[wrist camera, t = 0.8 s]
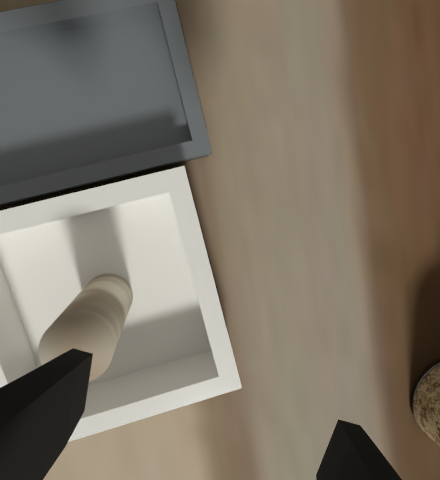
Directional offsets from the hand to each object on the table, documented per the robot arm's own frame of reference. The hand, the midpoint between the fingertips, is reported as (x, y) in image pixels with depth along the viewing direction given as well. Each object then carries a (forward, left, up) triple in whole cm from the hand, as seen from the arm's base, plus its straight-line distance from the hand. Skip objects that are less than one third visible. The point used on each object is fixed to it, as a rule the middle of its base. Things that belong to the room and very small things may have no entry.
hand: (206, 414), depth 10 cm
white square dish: (-5, 0, -15) cm, 16 cm away
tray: (-5, +13, -15) cm, 21 cm away
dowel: (-5, 0, -14) cm, 15 cm away
